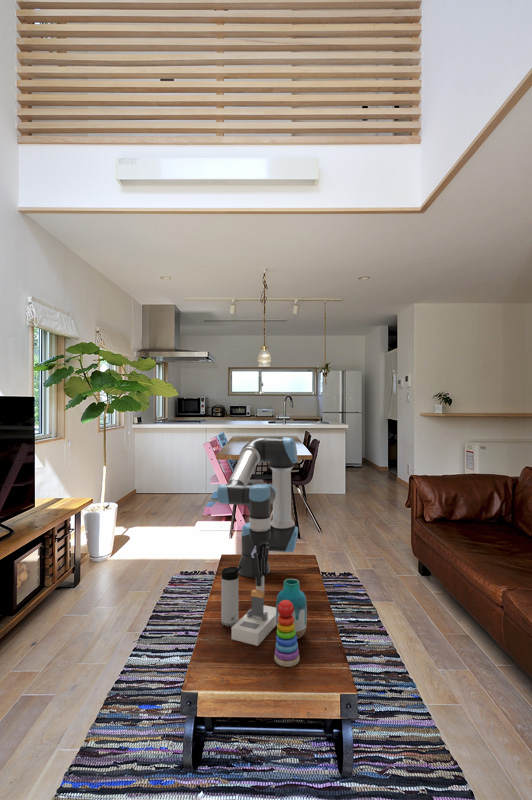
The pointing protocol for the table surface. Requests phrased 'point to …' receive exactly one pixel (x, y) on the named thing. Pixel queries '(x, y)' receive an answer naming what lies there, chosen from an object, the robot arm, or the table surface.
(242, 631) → the switch box
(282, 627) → the stacking toy
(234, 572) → the travel mug
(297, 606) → the vase
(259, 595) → the lever
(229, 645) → the table surface
